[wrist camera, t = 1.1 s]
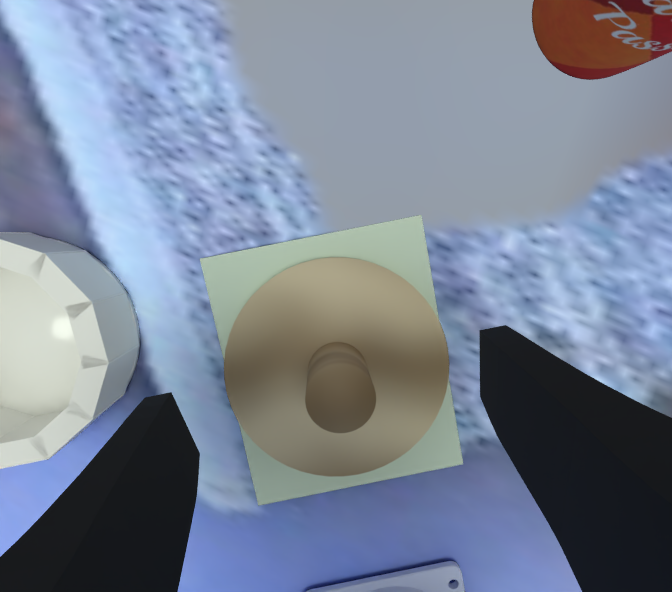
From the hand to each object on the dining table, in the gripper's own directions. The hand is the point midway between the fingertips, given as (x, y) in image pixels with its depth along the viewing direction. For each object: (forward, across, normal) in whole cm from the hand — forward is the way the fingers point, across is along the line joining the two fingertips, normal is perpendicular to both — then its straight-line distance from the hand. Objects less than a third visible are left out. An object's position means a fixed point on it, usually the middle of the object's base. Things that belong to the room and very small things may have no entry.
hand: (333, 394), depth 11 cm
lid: (+8, 0, +6) cm, 10 cm away
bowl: (+10, +13, +2) cm, 17 cm away
